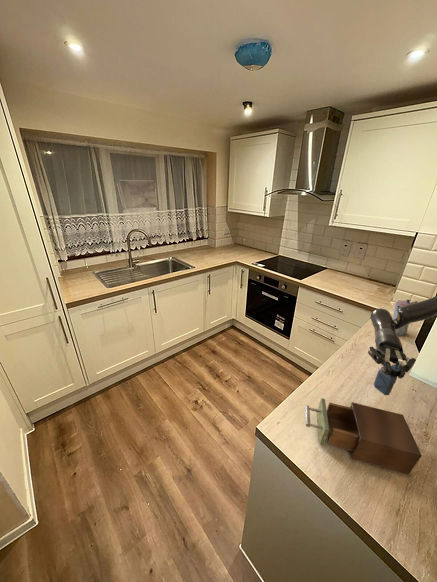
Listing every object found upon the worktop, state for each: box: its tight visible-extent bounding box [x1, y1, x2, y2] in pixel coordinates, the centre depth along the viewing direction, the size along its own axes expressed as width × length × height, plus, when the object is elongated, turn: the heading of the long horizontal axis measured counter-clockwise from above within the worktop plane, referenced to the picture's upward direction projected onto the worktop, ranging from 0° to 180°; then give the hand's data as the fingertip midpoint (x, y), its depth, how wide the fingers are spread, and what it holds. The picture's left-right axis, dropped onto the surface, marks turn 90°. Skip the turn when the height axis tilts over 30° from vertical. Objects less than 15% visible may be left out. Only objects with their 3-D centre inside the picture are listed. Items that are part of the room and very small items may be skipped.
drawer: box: [304, 397, 360, 452], centre depth 74 cm, size 18×11×7 cm, turn 73°
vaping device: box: [373, 364, 400, 396], centre depth 75 cm, size 3×5×12 cm, turn 24°
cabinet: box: [349, 401, 423, 476], centre depth 71 cm, size 15×13×9 cm
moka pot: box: [392, 299, 418, 337], centre depth 126 cm, size 10×15×20 cm, turn 112°
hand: (395, 374), depth 71 cm, fingers closed on vaping device, 2 cm apart
